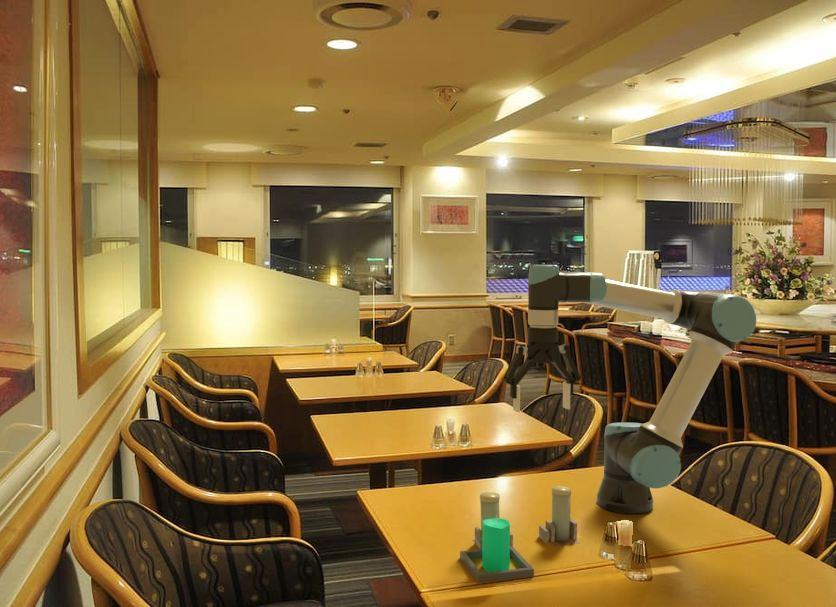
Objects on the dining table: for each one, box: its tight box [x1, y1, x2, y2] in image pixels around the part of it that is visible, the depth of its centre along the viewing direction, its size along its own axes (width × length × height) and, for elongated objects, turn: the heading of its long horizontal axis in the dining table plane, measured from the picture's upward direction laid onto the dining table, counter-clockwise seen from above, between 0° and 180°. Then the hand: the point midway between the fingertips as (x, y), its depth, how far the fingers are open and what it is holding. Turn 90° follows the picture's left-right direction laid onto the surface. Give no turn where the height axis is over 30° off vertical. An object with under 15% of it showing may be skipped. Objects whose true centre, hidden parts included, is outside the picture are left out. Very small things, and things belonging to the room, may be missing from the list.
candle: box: [481, 515, 511, 572], centre depth 159 cm, size 6×6×12 cm
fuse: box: [479, 491, 501, 532], centre depth 170 cm, size 5×5×12 cm
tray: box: [459, 545, 535, 588], centre depth 159 cm, size 13×13×3 cm
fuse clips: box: [472, 517, 581, 549], centre depth 171 cm, size 25×12×5 cm, turn 104°
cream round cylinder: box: [551, 485, 572, 541], centre depth 175 cm, size 5×5×12 cm
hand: (541, 409), depth 183 cm, fingers open, 13 cm apart
